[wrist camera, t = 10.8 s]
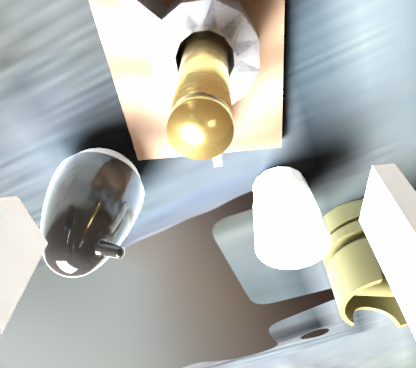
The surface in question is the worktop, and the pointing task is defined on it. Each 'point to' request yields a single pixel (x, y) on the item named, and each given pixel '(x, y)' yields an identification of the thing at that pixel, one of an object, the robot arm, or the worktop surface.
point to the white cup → (287, 220)
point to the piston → (357, 267)
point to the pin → (202, 99)
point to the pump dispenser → (89, 210)
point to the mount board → (142, 39)
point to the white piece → (199, 21)
